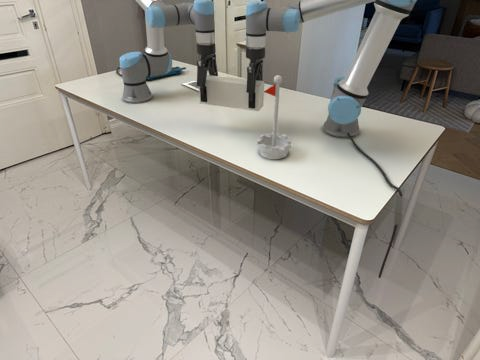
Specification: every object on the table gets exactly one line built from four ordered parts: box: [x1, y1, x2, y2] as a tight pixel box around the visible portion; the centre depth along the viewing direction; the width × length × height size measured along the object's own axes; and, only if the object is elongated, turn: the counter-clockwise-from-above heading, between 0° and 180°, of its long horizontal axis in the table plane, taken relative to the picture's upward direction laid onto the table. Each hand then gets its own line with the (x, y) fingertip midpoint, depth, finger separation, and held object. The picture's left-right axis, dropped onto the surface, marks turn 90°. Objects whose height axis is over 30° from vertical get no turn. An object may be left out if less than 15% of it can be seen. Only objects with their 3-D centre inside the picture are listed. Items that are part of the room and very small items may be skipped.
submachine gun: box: [146, 66, 187, 81], centre depth 223 cm, size 34×4×25 cm
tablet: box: [181, 79, 199, 93], centre depth 200 cm, size 32×20×1 cm, turn 41°
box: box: [198, 74, 265, 112], centre depth 143 cm, size 27×6×11 cm, turn 70°
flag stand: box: [256, 74, 292, 160], centre depth 125 cm, size 13×13×30 cm
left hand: (208, 97), depth 147 cm, fingers open, 9 cm apart
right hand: (254, 104), depth 142 cm, fingers closed on box, 7 cm apart
